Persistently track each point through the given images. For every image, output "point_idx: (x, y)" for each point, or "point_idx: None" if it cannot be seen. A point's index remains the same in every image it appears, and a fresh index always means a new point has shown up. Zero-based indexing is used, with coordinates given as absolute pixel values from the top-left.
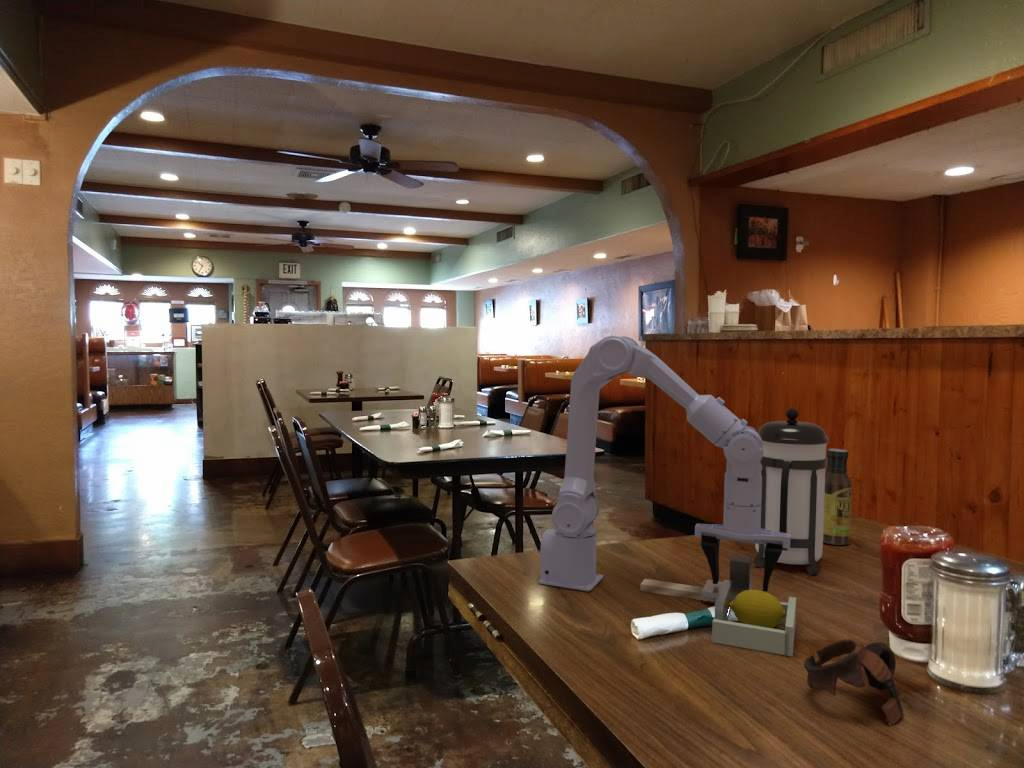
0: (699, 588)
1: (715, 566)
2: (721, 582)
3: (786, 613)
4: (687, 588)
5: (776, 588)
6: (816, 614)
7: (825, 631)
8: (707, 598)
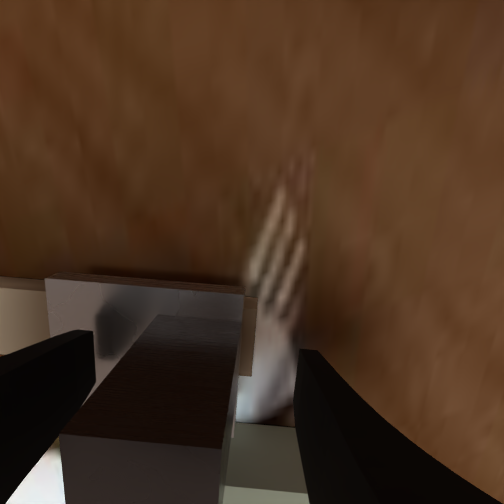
0: (44, 309)
1: (17, 482)
2: (110, 298)
3: None
4: (2, 327)
5: (357, 86)
6: (469, 339)
7: (463, 460)
8: None
